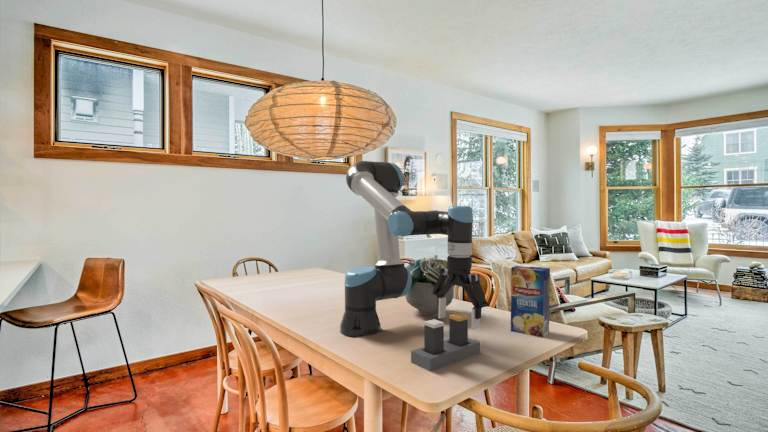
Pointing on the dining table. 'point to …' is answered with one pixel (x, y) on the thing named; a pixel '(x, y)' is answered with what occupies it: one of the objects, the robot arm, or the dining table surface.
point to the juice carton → (530, 300)
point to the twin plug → (434, 337)
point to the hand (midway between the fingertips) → (457, 323)
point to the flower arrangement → (426, 285)
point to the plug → (458, 329)
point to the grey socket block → (444, 355)
